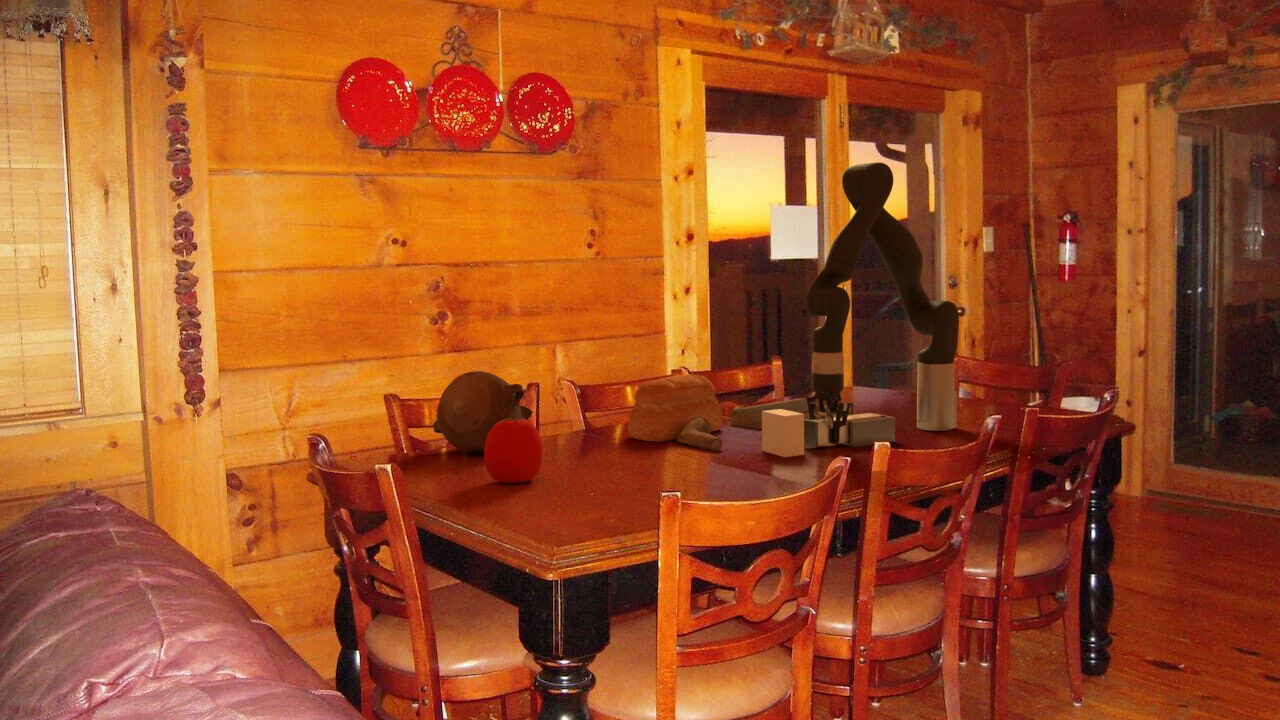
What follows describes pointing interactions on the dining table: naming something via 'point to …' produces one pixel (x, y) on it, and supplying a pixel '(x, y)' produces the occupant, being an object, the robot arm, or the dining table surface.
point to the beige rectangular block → (820, 429)
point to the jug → (477, 409)
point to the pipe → (699, 435)
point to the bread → (672, 407)
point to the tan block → (783, 432)
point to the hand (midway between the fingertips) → (827, 441)
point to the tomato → (513, 451)
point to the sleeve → (871, 431)
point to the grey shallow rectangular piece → (754, 413)
